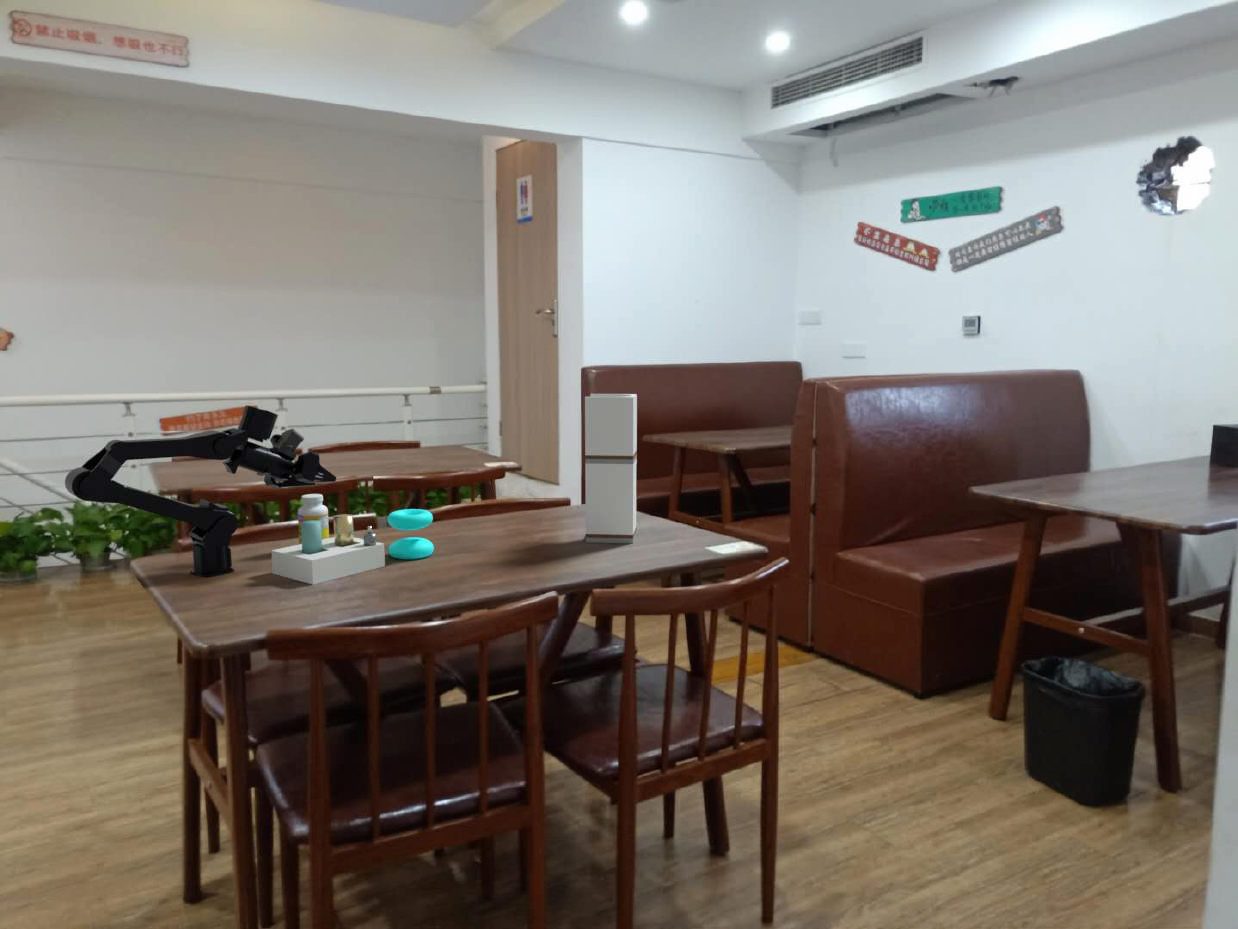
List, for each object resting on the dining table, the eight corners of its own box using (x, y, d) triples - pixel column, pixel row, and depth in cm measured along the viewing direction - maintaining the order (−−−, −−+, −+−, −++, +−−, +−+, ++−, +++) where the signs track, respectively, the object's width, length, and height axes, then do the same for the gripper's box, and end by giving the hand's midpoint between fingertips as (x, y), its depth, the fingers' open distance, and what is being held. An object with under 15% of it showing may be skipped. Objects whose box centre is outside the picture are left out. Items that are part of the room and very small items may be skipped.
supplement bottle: (293, 551, 210) (290, 496, 208) (315, 545, 216) (312, 492, 214) (314, 554, 207) (311, 499, 205) (335, 548, 213) (333, 494, 211)
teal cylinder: (310, 558, 187) (308, 525, 186) (298, 555, 189) (296, 522, 188) (326, 554, 190) (325, 522, 189) (315, 552, 193) (313, 519, 192)
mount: (313, 584, 182) (311, 560, 182) (272, 573, 191) (271, 550, 190) (384, 566, 197) (384, 543, 196) (344, 556, 205) (343, 535, 204)
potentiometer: (369, 546, 193) (368, 528, 192) (361, 545, 195) (360, 526, 194) (378, 544, 195) (378, 526, 194) (371, 542, 197) (370, 524, 196)
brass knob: (342, 551, 193) (341, 518, 192) (330, 548, 196) (329, 516, 195) (358, 547, 197) (356, 515, 196) (346, 545, 199) (345, 513, 198)
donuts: (378, 515, 201) (401, 506, 211) (380, 559, 203) (402, 549, 212) (419, 517, 199) (440, 509, 208) (420, 562, 200) (441, 551, 210)
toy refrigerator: (636, 533, 228) (636, 394, 223) (633, 543, 218) (633, 397, 213) (591, 532, 229) (590, 393, 224) (585, 542, 219) (584, 396, 214)
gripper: (290, 418, 192) (355, 443, 202) (251, 430, 204) (314, 452, 215) (277, 468, 188) (343, 490, 199) (238, 477, 201) (302, 497, 212)
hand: (325, 481), depth 206 cm, fingers open, 9 cm apart
